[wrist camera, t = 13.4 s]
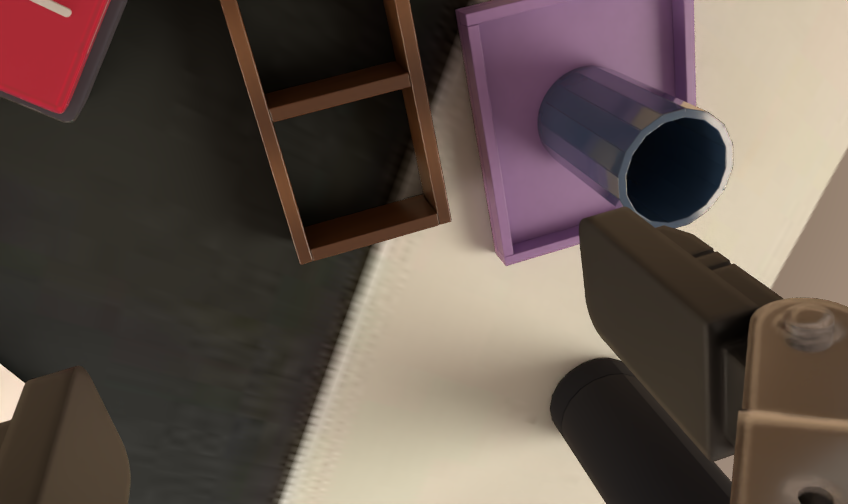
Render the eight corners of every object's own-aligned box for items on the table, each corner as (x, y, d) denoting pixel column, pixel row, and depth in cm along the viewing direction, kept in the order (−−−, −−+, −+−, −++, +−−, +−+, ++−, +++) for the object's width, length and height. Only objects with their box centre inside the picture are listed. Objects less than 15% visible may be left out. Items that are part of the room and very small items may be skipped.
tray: (454, 9, 39) (465, 14, 37) (674, -46, 40) (693, -43, 39) (495, 253, 45) (505, 266, 44) (682, 198, 47) (699, 208, 45)
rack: (201, -63, 34) (201, -59, 32) (376, -103, 36) (390, -102, 33) (294, 241, 42) (300, 265, 39) (437, 201, 43) (452, 221, 40)
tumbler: (531, 79, 41) (614, 128, 32) (628, 53, 41) (733, 95, 33) (543, 176, 43) (623, 244, 35) (634, 150, 44) (733, 211, 36)
